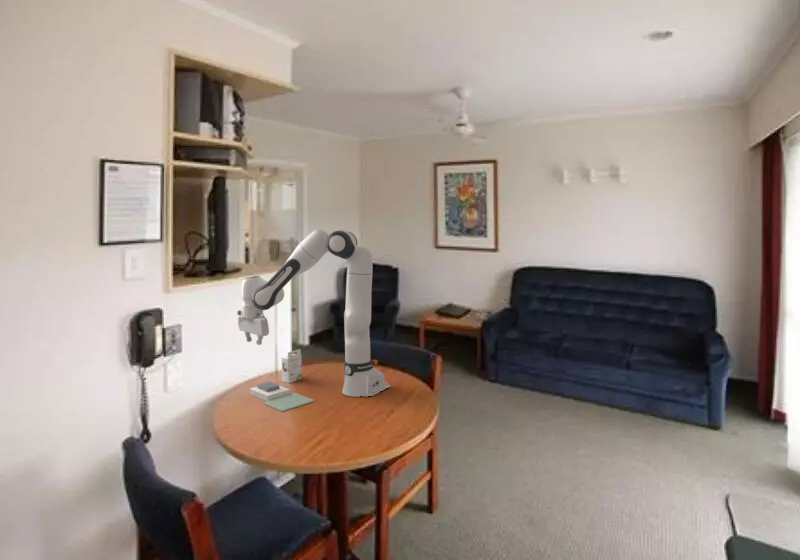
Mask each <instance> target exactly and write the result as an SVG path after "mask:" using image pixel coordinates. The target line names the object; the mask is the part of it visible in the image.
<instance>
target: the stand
mask: <svg viewBox="0 0 800 560" xmlns="http://www.w3.org/2000/svg"><path fill="white" fill-rule="evenodd" d="M289 394H291V393H290V388H287V387H284V386H282V385H279V389H277V390H273V391H270V392H266V391H263V390H261V389H258V388H257V386H254V387H251V388H249V395H252V396H254V397H255V398H259V399H260V400H263V401H264V402H265V401H269V400H272V399H276V398H279V397H282V396H286V395H289Z"/></svg>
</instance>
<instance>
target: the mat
mask: <svg viewBox="0 0 800 560" xmlns="http://www.w3.org/2000/svg"><path fill="white" fill-rule="evenodd" d="M315 401H316V400H315V399H312V398H309V397H307V396H305V395H301V394H300V393H298V392H294V393H290V394H289V395H286V396H282V397H279V398H276V399H272V400H269V401H265V400H264V401H263V402H262V404H264V405H266V406H268V407H270V408H273V409H275V410H277V411H278V412H281V413H283V412H286V411H288V410H293V409H296V408H298V407H301V406H304V405H308V404H311V403H314V402H315Z"/></svg>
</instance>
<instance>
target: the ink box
mask: <svg viewBox="0 0 800 560" xmlns="http://www.w3.org/2000/svg"><path fill="white" fill-rule="evenodd" d="M301 350H302V349H301V348H299V349H295V350H291V351H288V352H287V355H286V356H283V357H281V378H282V382H284V383H287V384H290V383H293V381H294V382H296V381H299V380H303V366H302V365H303V361H302V351H301Z"/></svg>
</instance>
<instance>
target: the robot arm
mask: <svg viewBox="0 0 800 560" xmlns="http://www.w3.org/2000/svg"><path fill="white" fill-rule="evenodd" d="M327 253H331V254H332V255H334V256H335V257H338V258H341V259H343V260H346V267H347V268H346V281H345V282H346V284H345V310H344V311H343V319H344V320H343V321H344V322H343V323H344V324H343V325H344V327H343V328H344V355H345V356H344V365H343V366H344V379H343V386H342V390H341V393H342V394H343V395H345V396H348V397H355V398H357V397H358V398H359V397H360V396H362V397H368V396H372V397H374V396H373V395H375V394H377V393H379V392H380V391H383V390H384V389H386V388H388V387H390V388H391V384H389V383H388V382H386V377H385V375H384V374H383V372H381V371H379V370H378V369H377V368H375V367H374V365H378V360H377V359H371V338H370V327H371V326H370V325H371V323H372V290H373V287H372V286H373V255H372V252H371V251H370V250H369V249H367V248H365V247H363V246H362V247H361V246H358V238H357V237H356V235H355V234H354V233H352V232H350V231H347V230H343V229H342V230H341V229H340V230H335V231H333V232H331V233H328V232H327V231H325V230H324V229H322V228H321V229H320V228H317V229H314V230H313V231H311V232H310V233H309V234H308V235H307V236H305V238H303V239H302V240H301V241H300V243H299V244H297V246H296V247H295V249H294V250H293V251H292V253H291V255H290V256H289V257H288V258H287V260H286V261H285V263H283V265H282V266H281V267H280V269H278V271H277V272H276V273H274V275H273V276H272V277H271V278H270V279H269V280H268V281H267V280H266V279H264V278H262V277H261V276H259V275H254V276H250V277H249V276H248V277H246V278H244V279H243V280H242V284H241V298H242V305H241V306H242V308H241V309H238V310H237V311H236V315H237V324H238V329H239V331H242V332H244V335H245V337H246V342H248V343H250V342H252V340H253V339H252V337H251V334H253V335H256V336H257V337H256V338H257V340H255V342H256V345H258V346H259V345H260V346H261V345H262V343H263V339H264V337H265V336H269V334H270V328H269V322H268V318H267V317H266V316H265V314H264V311H267V310H270V309H272V307H274V306H276V305H278V304H280V303H281V302H282V301H283V299H284V297H285V291H284V288H285V286H286V285H287V284H288V283H289V282H290V281H291V280H293V278H296V276H299V275H301V274H303V273H305V272H307V271H309V270H310V269H312V268H313V267H314V266H315V265H317V264H318V262H319V261H320V260H321V259H322V257H323V256H324V255H326V254H327ZM386 384H387V385H386ZM383 392H384V391H383ZM379 394H380V393H379ZM377 395H378V394H377ZM375 396H376V395H375Z"/></svg>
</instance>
